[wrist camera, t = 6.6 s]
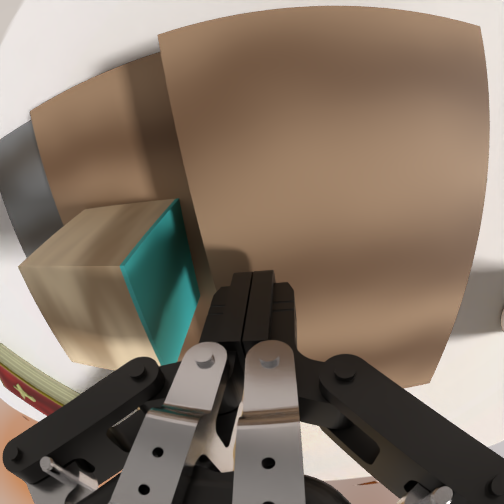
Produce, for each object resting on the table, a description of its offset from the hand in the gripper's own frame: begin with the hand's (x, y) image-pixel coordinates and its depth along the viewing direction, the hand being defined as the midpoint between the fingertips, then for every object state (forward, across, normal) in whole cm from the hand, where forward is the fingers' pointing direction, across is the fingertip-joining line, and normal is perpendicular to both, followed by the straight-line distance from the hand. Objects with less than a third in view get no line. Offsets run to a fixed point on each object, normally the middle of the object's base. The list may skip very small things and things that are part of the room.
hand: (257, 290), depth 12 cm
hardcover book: (+8, +39, +26) cm, 47 cm away
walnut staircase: (+8, +6, 0) cm, 10 cm away
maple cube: (+1, +4, 0) cm, 4 cm away
